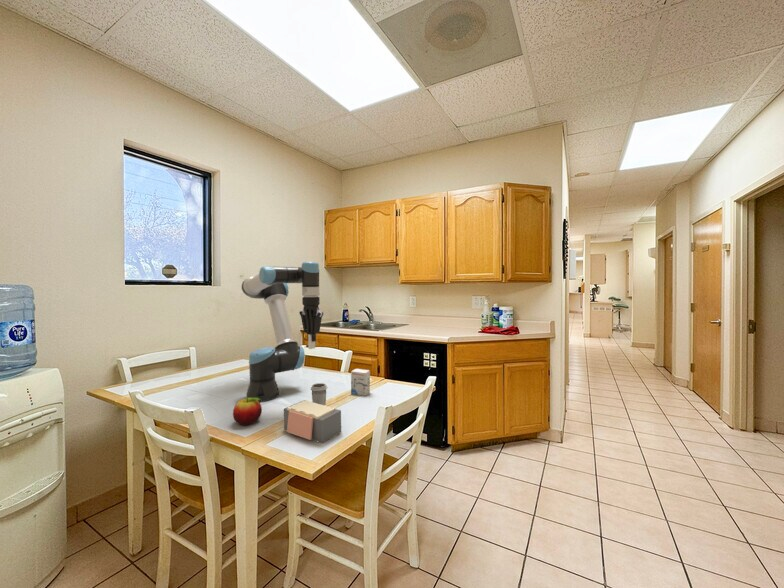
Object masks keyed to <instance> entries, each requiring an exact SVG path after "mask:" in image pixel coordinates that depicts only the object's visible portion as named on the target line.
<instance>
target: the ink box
mask: <svg viewBox="0 0 784 588" xmlns="http://www.w3.org/2000/svg"><path fill="white" fill-rule="evenodd" d="M370 385H371V371H370V370H369V369H363V368H354V369H353V370H351V371H350V394H351V395H357V396H363V397H367V396H368V395H369V394H370V393H371V392H370V390H371V386H370Z"/></svg>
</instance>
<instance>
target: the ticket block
mask: <svg viewBox="0 0 784 588" xmlns="http://www.w3.org/2000/svg"><path fill="white" fill-rule="evenodd" d="M289 411H293V412H296V413H299V414H303V415H306V416H309V417H313V428H312V439H311V440H312V441H314V440H315V441H316V442H317V441H318V442H317V443H321V444H324V443H325V441H326V442H327V441H329V440H331V439H332V438H334V437H336V436H337V435H338V434H340V433H342V410H341V409H338V408H337V409H336V408H334V407H332V406H328V405H326V404H325V405H321V404H317V403H313V401H309V400H301V401H299V402H297V403H294V404H291V405H290V406H286V407H284V408H283V430H284V431H286V430H287V425H288V415H289Z"/></svg>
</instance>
